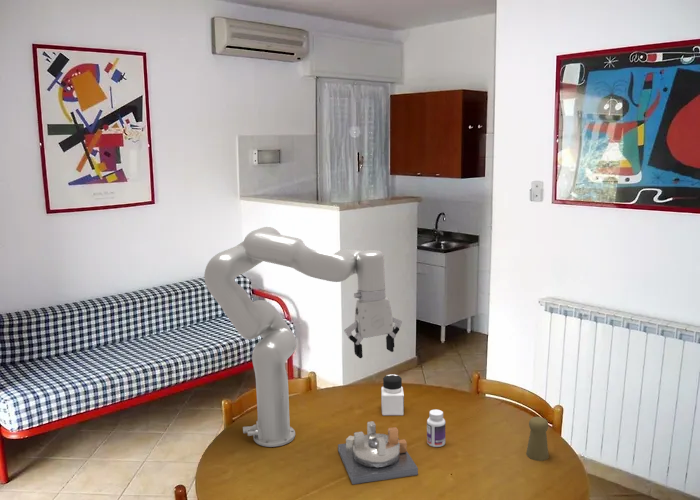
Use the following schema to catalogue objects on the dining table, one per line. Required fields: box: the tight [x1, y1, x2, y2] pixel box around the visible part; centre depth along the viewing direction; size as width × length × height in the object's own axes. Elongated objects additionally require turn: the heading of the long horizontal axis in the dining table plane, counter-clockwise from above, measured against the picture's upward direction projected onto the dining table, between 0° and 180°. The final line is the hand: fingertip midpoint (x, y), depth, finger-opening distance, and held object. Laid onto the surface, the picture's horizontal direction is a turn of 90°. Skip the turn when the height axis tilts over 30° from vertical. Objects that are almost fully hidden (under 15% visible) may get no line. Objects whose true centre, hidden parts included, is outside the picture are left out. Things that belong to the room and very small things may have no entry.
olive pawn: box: [525, 416, 550, 462], centre depth 170 cm, size 6×6×11 cm
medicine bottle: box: [380, 374, 405, 416], centre depth 199 cm, size 7×7×12 cm
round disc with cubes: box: [353, 420, 408, 467], centre depth 167 cm, size 15×13×7 cm
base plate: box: [337, 435, 419, 485], centre depth 168 cm, size 18×18×6 cm
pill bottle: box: [426, 409, 446, 448], centre depth 178 cm, size 5×5×10 cm
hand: (374, 353), depth 171 cm, fingers open, 9 cm apart
